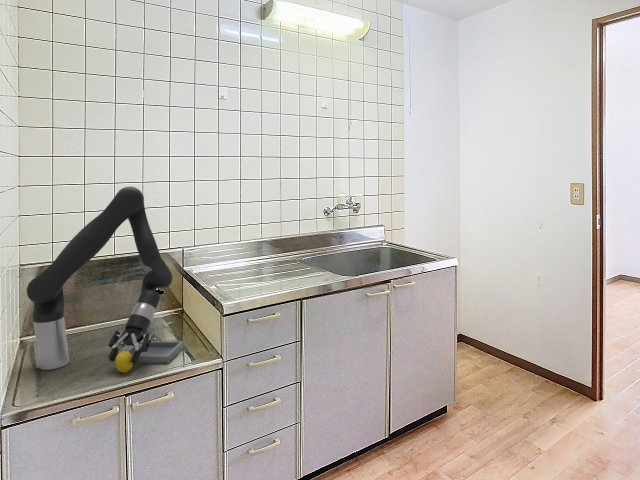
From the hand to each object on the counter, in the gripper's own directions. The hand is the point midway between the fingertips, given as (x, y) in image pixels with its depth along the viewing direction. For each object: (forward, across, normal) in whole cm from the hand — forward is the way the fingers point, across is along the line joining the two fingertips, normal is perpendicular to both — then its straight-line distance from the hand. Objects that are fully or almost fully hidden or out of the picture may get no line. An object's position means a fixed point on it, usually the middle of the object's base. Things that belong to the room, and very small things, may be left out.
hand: (121, 361), depth 142 cm
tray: (-8, 0, +14) cm, 16 cm away
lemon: (+3, 0, +4) cm, 5 cm away
